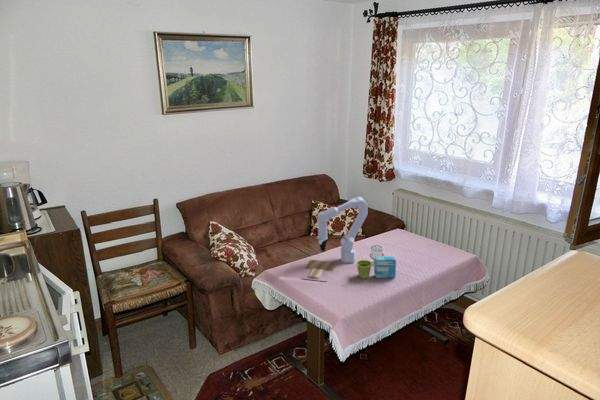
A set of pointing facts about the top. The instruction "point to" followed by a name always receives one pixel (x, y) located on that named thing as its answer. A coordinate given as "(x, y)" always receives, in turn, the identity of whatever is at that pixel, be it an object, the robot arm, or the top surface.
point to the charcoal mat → (314, 280)
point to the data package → (385, 267)
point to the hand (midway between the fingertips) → (323, 250)
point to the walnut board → (321, 265)
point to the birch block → (316, 273)
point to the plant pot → (364, 268)
